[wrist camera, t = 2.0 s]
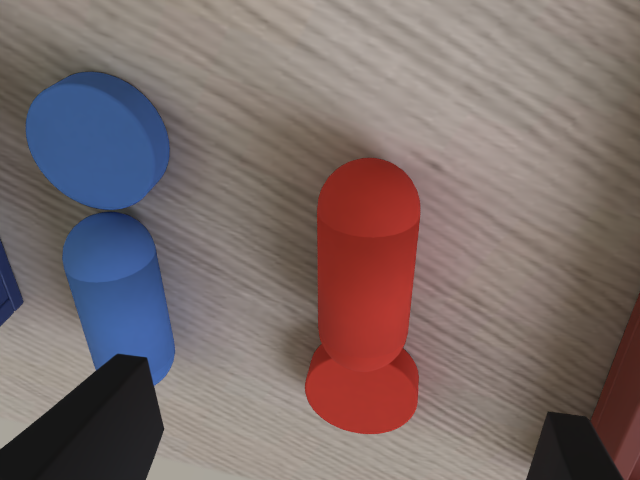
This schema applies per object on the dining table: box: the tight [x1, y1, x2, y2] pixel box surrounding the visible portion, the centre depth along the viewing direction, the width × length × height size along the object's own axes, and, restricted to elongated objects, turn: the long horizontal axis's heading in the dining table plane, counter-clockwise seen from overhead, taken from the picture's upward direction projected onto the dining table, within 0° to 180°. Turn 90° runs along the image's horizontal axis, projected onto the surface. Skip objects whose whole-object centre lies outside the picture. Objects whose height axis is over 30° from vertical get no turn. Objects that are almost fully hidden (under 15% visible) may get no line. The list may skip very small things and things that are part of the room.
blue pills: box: [26, 72, 175, 386], centre depth 16 cm, size 10×3×2 cm, turn 0°
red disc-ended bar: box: [305, 158, 420, 434], centre depth 15 cm, size 10×3×2 cm, turn 0°
